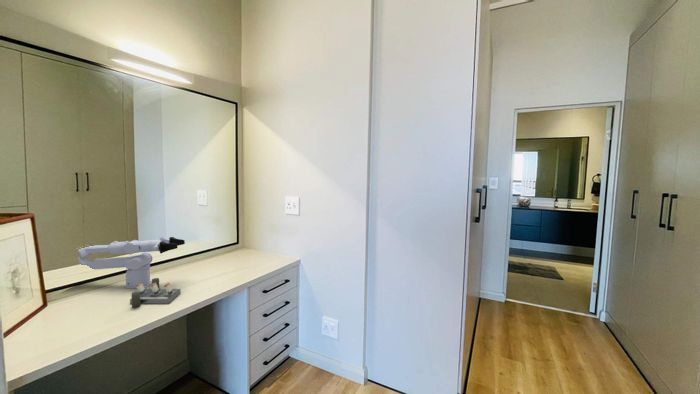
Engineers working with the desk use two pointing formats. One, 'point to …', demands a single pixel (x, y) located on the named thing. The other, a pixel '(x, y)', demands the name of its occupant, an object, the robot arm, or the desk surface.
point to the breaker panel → (157, 296)
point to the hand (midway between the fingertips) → (180, 244)
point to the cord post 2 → (156, 281)
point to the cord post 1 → (136, 299)
